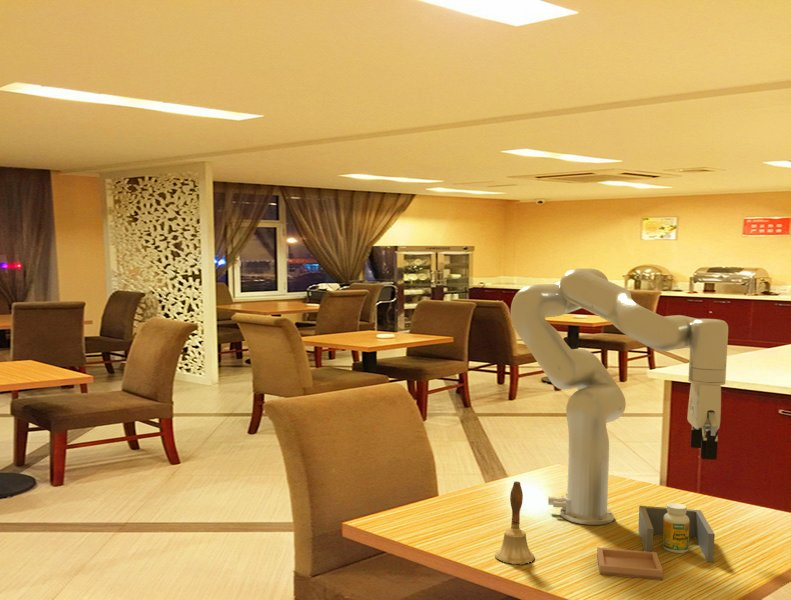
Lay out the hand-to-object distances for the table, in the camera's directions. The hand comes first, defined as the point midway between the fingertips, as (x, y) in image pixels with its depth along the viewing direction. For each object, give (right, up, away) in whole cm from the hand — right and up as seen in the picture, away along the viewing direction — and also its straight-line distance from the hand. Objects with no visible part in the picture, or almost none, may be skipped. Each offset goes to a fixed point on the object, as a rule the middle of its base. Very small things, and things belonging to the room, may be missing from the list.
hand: (703, 453), depth 172 cm
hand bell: (-42, -21, -7) cm, 48 cm away
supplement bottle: (-7, -21, -1) cm, 22 cm away
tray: (-20, -21, -12) cm, 31 cm away
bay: (-6, -21, +1) cm, 21 cm away
